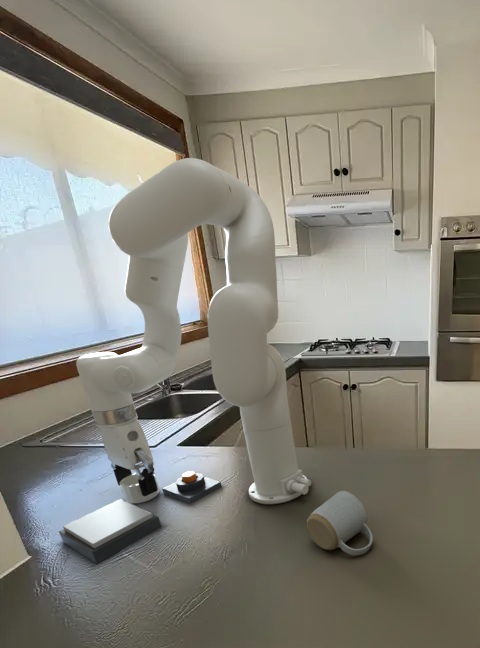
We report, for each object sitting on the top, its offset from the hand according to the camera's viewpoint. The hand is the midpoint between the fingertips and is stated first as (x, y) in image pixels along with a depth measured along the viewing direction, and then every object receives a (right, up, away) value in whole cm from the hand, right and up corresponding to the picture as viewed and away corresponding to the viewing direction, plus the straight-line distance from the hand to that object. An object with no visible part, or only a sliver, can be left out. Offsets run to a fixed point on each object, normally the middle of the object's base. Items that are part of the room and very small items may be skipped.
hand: (138, 488), depth 92 cm
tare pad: (+11, -1, +2) cm, 11 cm away
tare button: (+11, +2, +1) cm, 11 cm away
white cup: (+1, -2, +1) cm, 2 cm away
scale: (+2, -7, -12) cm, 14 cm away
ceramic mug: (+47, -7, -19) cm, 51 cm away
